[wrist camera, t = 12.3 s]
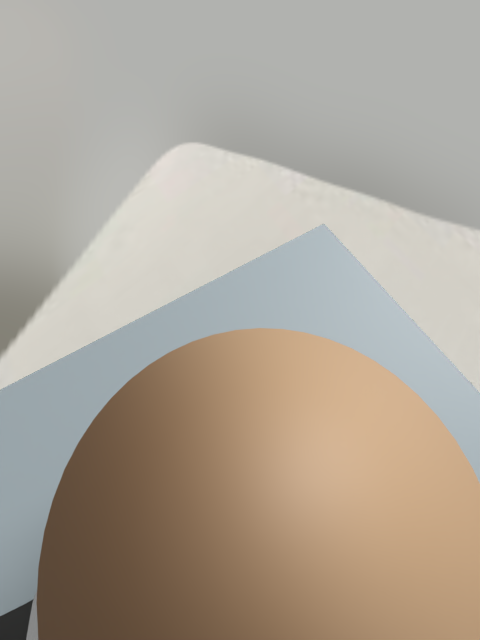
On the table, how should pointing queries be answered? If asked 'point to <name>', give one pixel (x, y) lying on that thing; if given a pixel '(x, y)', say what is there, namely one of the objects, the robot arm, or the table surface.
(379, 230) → the table surface
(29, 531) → the socket block
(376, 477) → the peg
